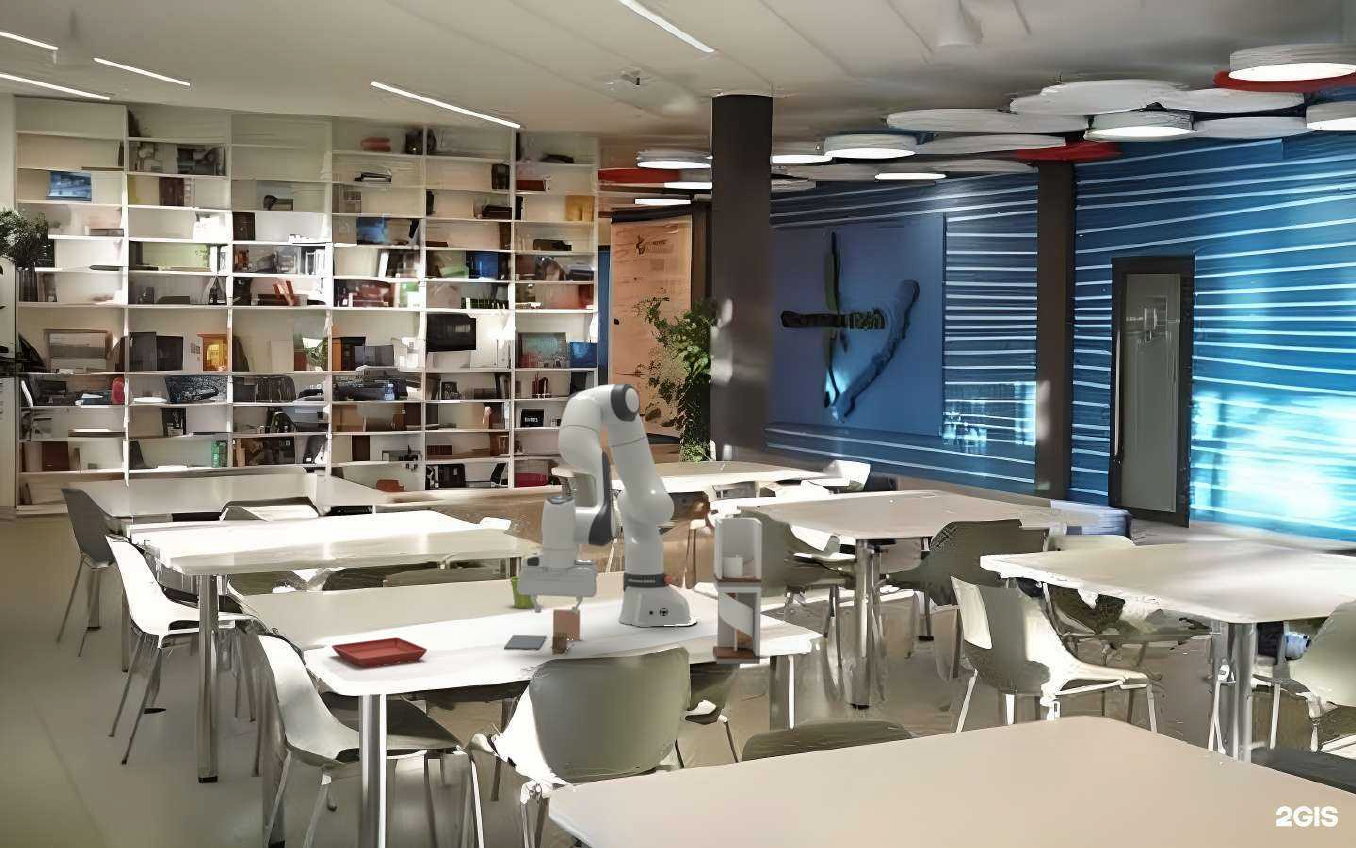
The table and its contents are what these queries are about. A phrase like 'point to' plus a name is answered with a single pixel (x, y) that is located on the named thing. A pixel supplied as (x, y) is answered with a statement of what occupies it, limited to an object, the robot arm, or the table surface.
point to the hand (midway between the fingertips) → (556, 613)
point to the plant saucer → (379, 652)
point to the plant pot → (520, 596)
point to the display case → (738, 589)
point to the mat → (525, 642)
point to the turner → (560, 643)
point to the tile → (567, 623)
